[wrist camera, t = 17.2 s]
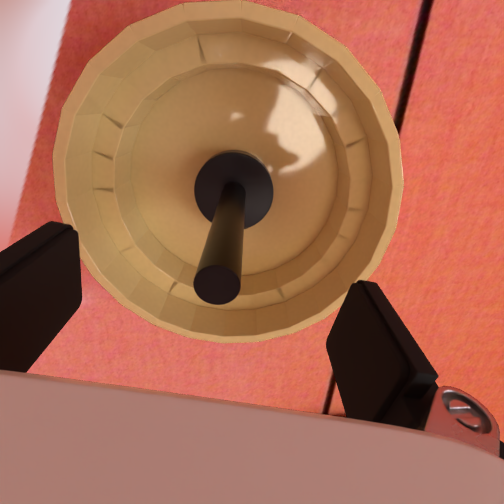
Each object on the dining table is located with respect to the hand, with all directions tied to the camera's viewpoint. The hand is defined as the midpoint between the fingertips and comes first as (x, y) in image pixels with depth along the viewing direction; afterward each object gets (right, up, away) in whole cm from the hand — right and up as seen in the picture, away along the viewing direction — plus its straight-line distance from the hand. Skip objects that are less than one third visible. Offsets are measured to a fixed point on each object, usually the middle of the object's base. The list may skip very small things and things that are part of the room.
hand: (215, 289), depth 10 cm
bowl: (0, +7, +14) cm, 15 cm away
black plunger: (0, +6, +13) cm, 15 cm away
